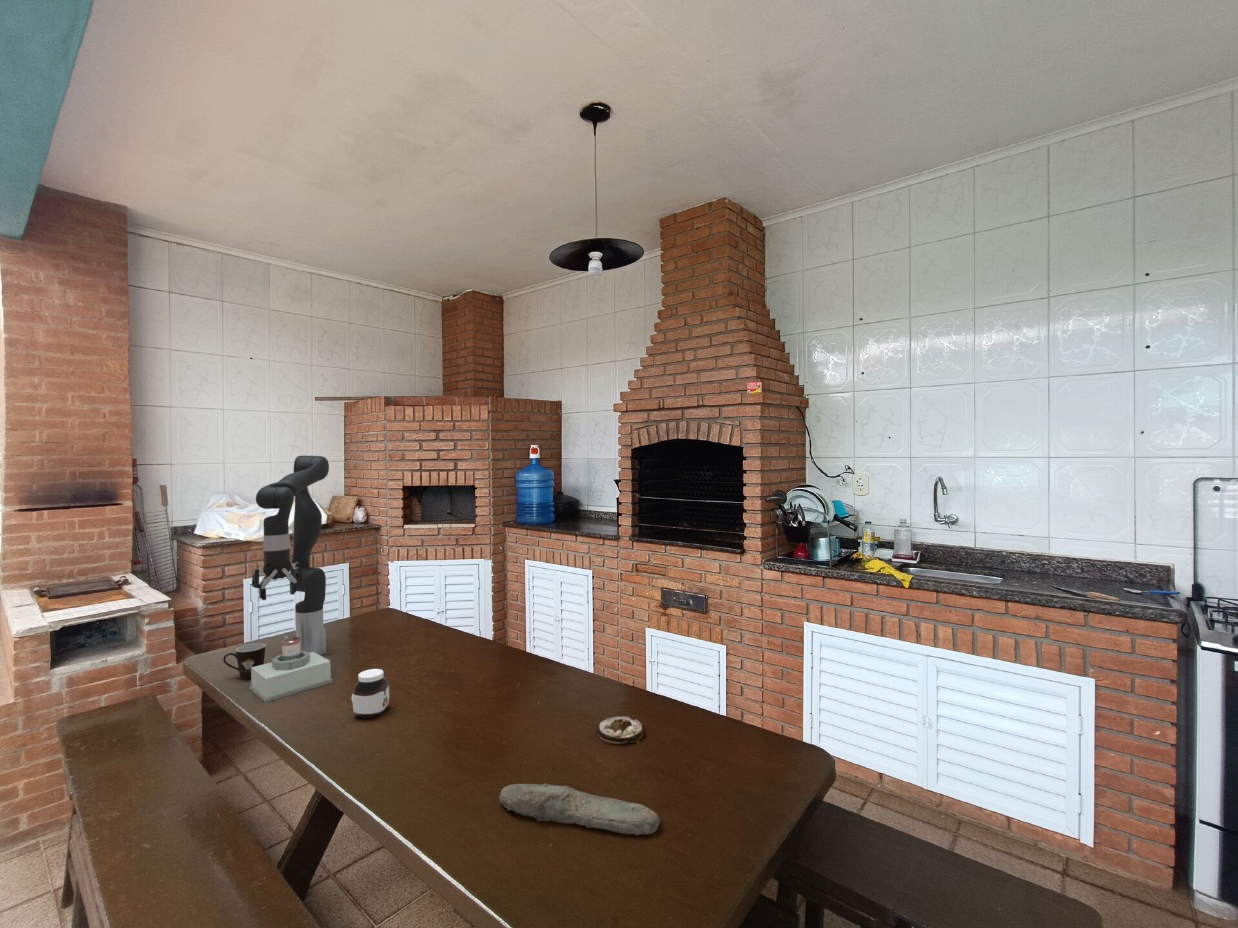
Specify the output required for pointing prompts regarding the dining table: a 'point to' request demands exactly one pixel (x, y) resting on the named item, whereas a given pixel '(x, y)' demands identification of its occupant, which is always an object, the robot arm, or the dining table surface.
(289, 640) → the spout can
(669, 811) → the dining table surface
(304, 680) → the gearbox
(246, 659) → the coffee mug
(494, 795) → the dining table surface
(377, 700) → the spread jar
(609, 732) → the sushi roll
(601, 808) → the long grey stone
